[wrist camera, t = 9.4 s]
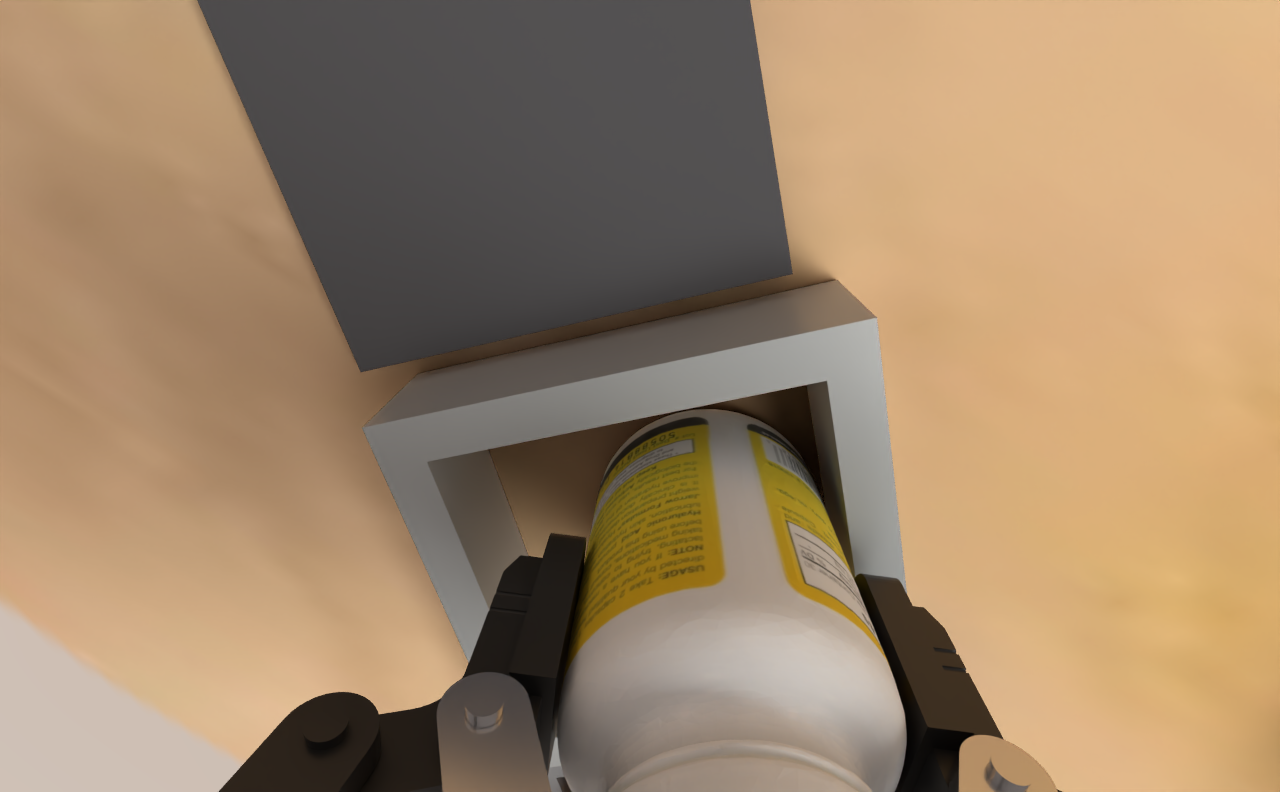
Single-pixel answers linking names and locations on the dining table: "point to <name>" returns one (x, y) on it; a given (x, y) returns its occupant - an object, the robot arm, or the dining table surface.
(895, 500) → the frame
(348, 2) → the mat
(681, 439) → the supplement bottle
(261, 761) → the robot arm
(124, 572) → the dining table surface
